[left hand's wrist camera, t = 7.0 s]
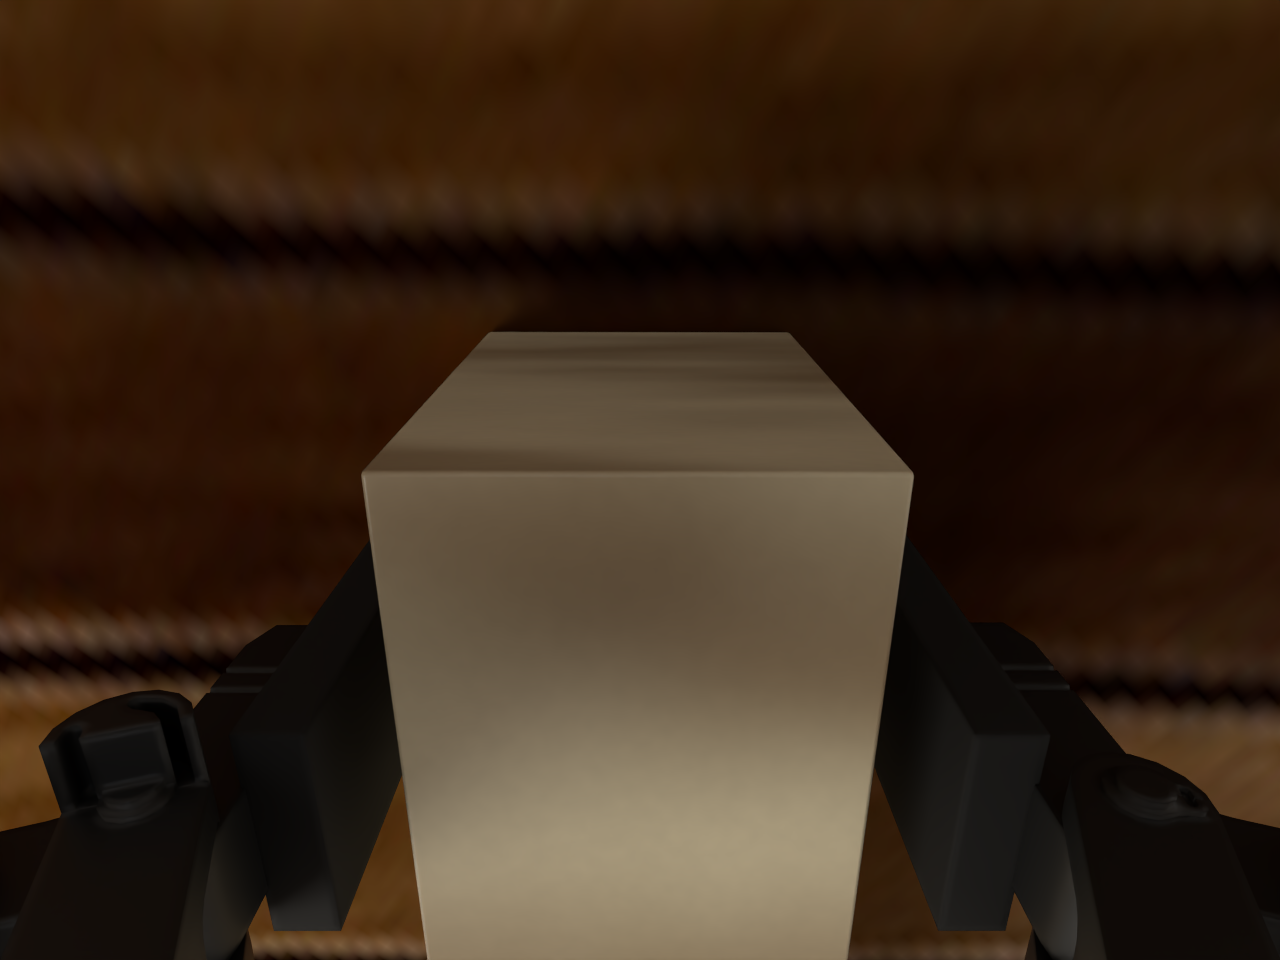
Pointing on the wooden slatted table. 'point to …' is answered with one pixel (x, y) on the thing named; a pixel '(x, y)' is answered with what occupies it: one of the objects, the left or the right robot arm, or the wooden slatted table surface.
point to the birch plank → (637, 645)
